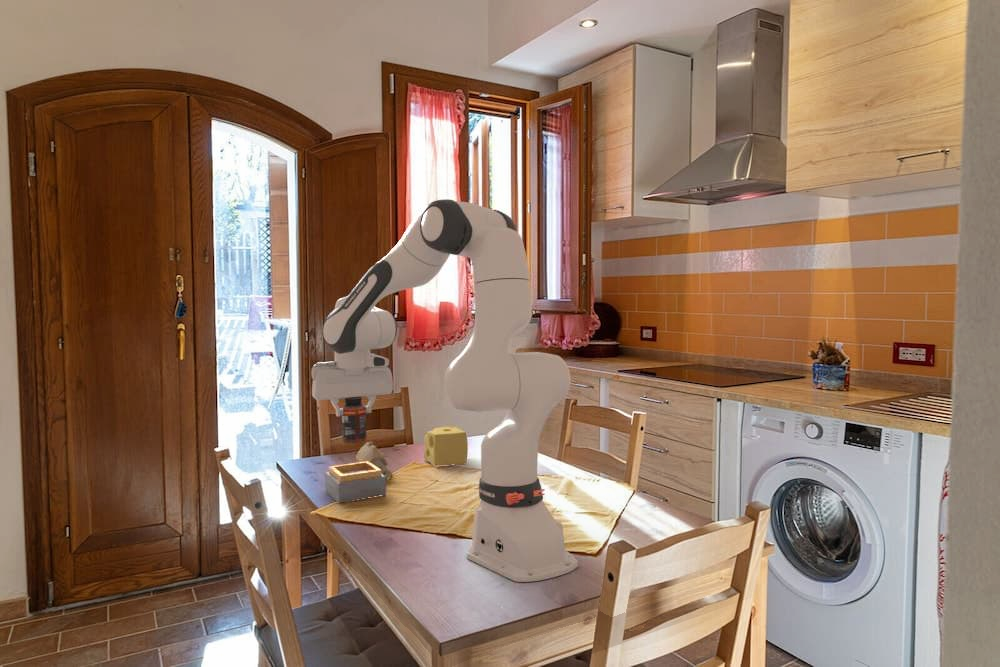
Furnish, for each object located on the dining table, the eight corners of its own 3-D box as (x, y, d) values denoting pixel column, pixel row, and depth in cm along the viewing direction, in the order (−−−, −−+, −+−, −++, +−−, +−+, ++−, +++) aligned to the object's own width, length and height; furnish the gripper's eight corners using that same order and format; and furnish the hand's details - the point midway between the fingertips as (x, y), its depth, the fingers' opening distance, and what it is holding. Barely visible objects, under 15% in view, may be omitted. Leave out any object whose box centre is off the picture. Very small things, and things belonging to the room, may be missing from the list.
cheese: (423, 460, 200) (422, 428, 199) (456, 456, 204) (455, 425, 204) (434, 468, 190) (434, 434, 190) (468, 464, 195) (468, 431, 194)
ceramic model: (397, 480, 179) (397, 444, 178) (357, 486, 174) (356, 449, 173) (382, 468, 191) (382, 434, 191) (344, 473, 186) (343, 438, 186)
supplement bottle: (368, 438, 169) (367, 395, 168) (364, 443, 163) (363, 398, 163) (345, 439, 169) (344, 395, 168) (340, 444, 163) (339, 399, 162)
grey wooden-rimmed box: (386, 495, 165) (385, 470, 164) (338, 503, 159) (338, 477, 158) (370, 484, 175) (369, 460, 175) (325, 491, 169) (325, 466, 169)
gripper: (314, 363, 157) (315, 420, 158) (394, 359, 167) (395, 412, 168) (307, 361, 162) (309, 416, 163) (386, 357, 173) (387, 408, 173)
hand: (353, 414), depth 166 cm, fingers closed on supplement bottle, 6 cm apart
